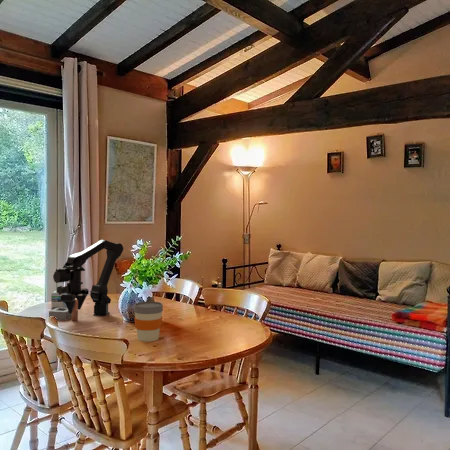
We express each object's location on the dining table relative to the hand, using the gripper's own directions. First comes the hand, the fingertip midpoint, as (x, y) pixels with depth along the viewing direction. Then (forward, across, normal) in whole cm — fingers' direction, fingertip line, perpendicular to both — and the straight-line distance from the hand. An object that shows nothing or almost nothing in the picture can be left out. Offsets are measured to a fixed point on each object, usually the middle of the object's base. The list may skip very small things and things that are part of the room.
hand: (74, 311), depth 218 cm
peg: (+4, 0, 0) cm, 4 cm away
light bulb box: (+5, -18, -17) cm, 25 cm away
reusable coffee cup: (+5, +22, +45) cm, 50 cm away
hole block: (+4, -4, -9) cm, 11 cm away
